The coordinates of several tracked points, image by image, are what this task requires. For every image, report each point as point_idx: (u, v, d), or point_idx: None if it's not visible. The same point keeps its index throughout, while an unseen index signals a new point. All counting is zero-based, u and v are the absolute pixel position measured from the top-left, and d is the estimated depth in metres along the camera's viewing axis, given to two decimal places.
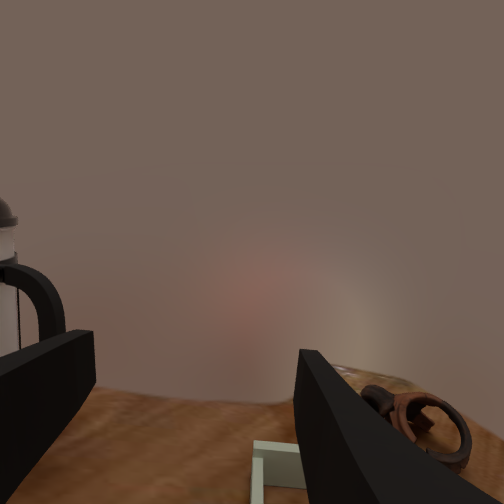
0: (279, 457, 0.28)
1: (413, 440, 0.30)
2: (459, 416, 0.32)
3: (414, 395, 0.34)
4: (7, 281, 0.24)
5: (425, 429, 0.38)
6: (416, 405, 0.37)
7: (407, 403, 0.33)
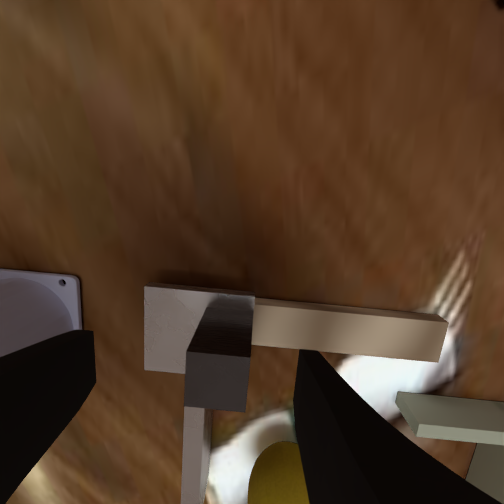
0: None
1: None
2: None
3: None
4: None
5: None
6: None
7: None
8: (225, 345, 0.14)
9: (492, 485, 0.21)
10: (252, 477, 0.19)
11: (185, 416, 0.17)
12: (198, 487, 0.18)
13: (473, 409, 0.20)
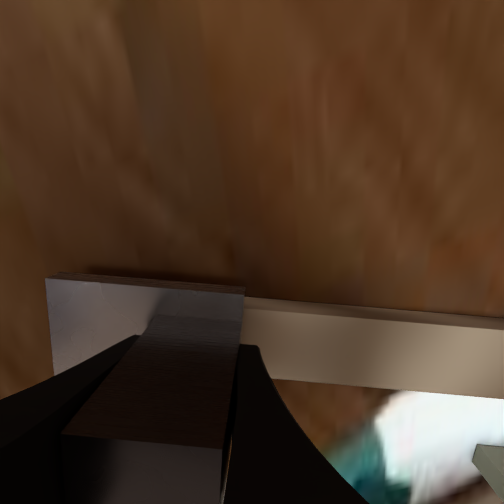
0: None
1: None
2: None
3: None
4: None
5: None
6: None
7: None
8: (166, 410, 0.06)
9: None
10: None
11: None
12: None
13: None
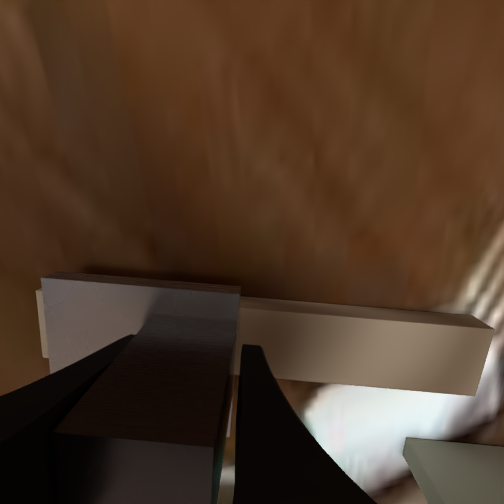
0: None
1: None
2: None
3: None
4: None
5: None
6: None
7: None
8: (159, 408, 0.06)
9: None
10: None
11: None
12: None
13: None
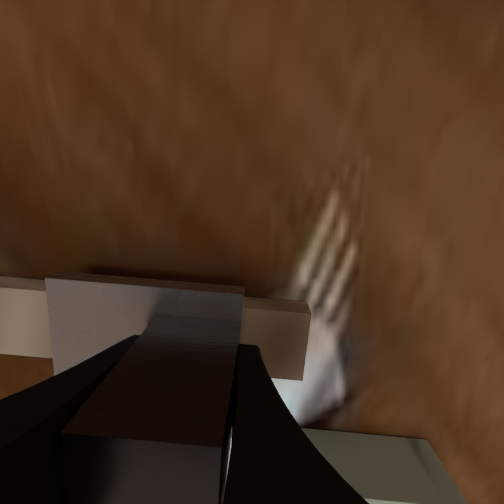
0: None
1: None
2: None
3: None
4: None
5: None
6: None
7: None
8: (166, 408, 0.06)
9: None
10: None
11: None
12: None
13: (369, 455, 0.13)
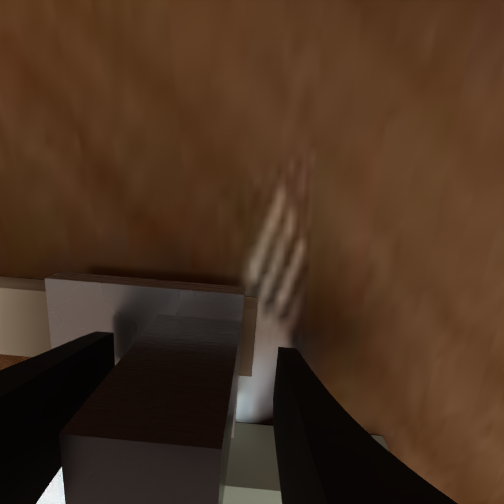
0: None
1: None
2: None
3: None
4: None
5: None
6: None
7: None
8: (166, 409, 0.06)
9: None
10: None
11: None
12: None
13: None
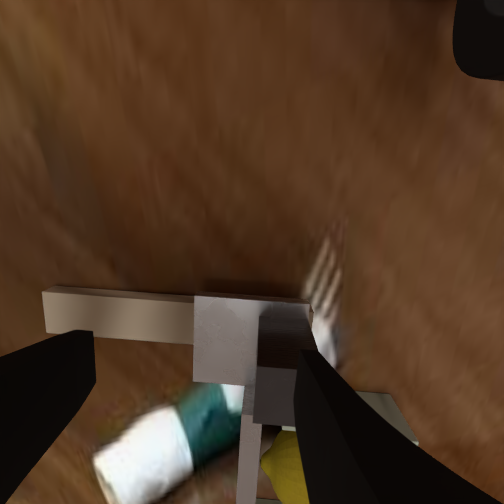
0: None
1: None
2: None
3: None
4: None
5: None
6: None
7: None
8: (294, 359, 0.13)
9: None
10: None
11: (242, 430, 0.16)
12: (253, 503, 0.18)
13: None
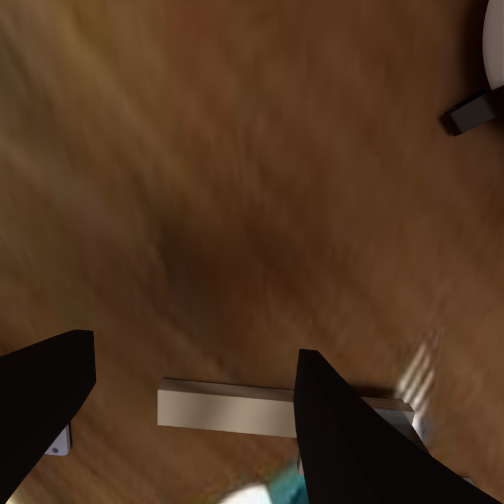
0: None
1: None
2: None
3: None
4: None
5: None
6: None
7: None
8: None
9: None
10: None
11: None
12: None
13: None
